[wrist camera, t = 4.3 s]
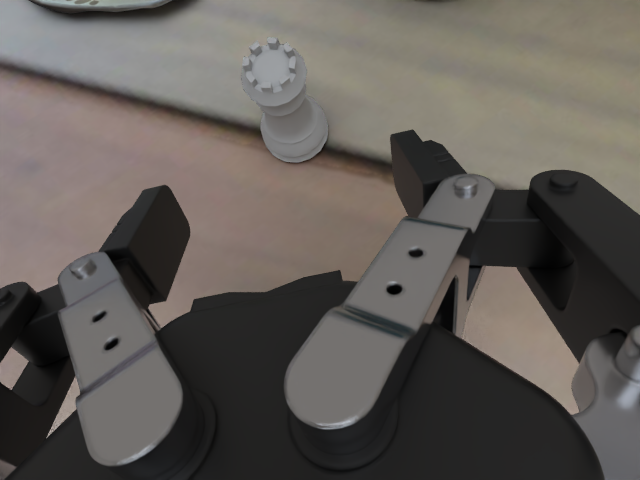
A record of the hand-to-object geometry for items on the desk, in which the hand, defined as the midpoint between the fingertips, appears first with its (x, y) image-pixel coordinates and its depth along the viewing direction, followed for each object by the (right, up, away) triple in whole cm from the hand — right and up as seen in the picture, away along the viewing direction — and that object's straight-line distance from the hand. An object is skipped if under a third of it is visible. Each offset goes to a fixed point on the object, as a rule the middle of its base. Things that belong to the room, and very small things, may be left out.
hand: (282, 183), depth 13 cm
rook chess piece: (0, +5, +12) cm, 13 cm away
